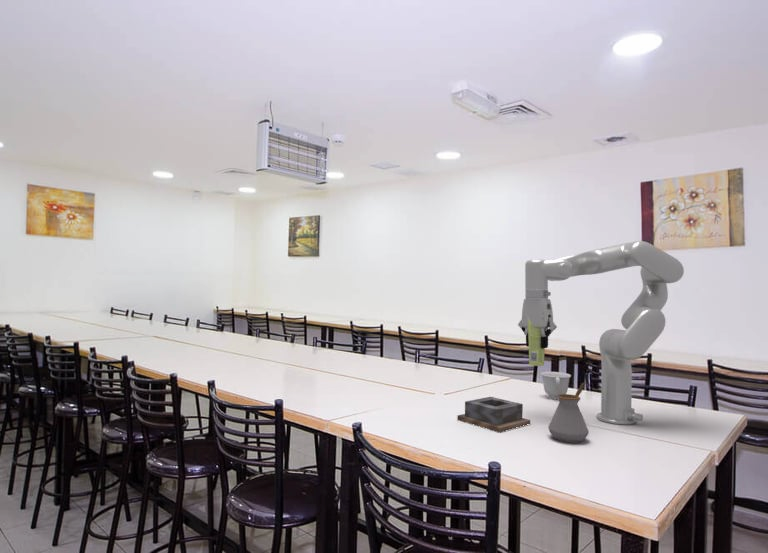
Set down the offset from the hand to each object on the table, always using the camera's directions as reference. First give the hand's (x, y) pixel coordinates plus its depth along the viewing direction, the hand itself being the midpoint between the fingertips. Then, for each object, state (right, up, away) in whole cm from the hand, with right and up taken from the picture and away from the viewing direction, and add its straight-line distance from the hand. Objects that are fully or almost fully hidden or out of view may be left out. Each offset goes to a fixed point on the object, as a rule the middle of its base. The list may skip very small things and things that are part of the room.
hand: (536, 346), depth 170 cm
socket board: (-16, -25, -5) cm, 30 cm away
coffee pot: (+6, -25, -18) cm, 32 cm away
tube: (0, -7, 0) cm, 7 cm away
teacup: (+18, -27, +32) cm, 45 cm away
